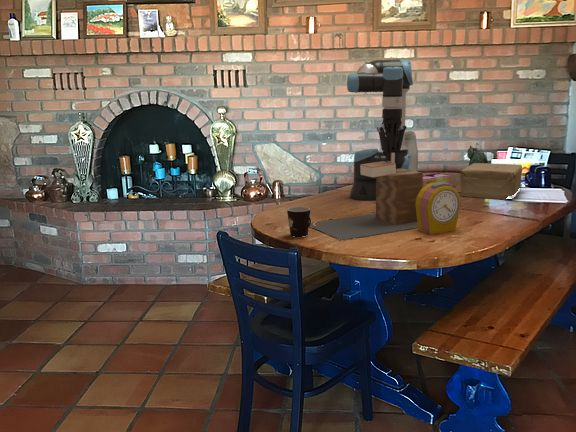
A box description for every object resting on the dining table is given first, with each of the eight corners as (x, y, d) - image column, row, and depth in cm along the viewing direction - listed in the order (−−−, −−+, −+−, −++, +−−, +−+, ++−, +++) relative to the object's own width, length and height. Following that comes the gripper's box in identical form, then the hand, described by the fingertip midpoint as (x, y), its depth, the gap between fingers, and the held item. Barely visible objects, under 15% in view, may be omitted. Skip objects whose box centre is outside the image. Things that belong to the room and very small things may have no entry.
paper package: (470, 187, 298) (471, 161, 295) (522, 191, 286) (524, 164, 283) (457, 197, 275) (459, 168, 272) (514, 201, 263) (516, 171, 260)
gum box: (438, 201, 267) (439, 172, 264) (452, 203, 260) (453, 174, 257) (403, 208, 253) (403, 178, 250) (416, 211, 247) (417, 180, 244)
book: (360, 174, 223) (360, 164, 222) (383, 171, 227) (383, 161, 226) (372, 177, 216) (372, 166, 215) (395, 173, 220) (395, 163, 219)
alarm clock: (427, 235, 208) (429, 185, 204) (414, 230, 216) (416, 182, 211) (460, 230, 214) (462, 182, 210) (446, 225, 221) (448, 179, 217)
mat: (303, 224, 227) (303, 223, 227) (392, 211, 246) (392, 210, 246) (341, 240, 203) (341, 239, 203) (436, 225, 222) (436, 224, 222)
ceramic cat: (465, 176, 334) (466, 141, 330) (475, 175, 335) (477, 141, 330) (479, 181, 315) (481, 145, 310) (490, 181, 316) (493, 145, 311)
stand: (367, 220, 232) (368, 171, 228) (399, 215, 240) (400, 168, 235) (388, 227, 220) (389, 176, 216) (420, 222, 227) (422, 172, 223)
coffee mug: (286, 232, 215) (286, 207, 213) (309, 232, 216) (308, 206, 213) (289, 241, 204) (288, 214, 201) (313, 240, 204) (312, 213, 202)
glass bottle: (398, 179, 327) (399, 130, 320) (416, 179, 325) (418, 130, 319) (399, 182, 317) (400, 131, 311) (417, 182, 316) (419, 131, 309)
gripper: (384, 109, 212) (383, 171, 218) (411, 107, 218) (410, 168, 224) (372, 108, 219) (371, 169, 224) (399, 107, 225) (398, 166, 230)
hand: (390, 168), depth 224 cm, fingers closed
